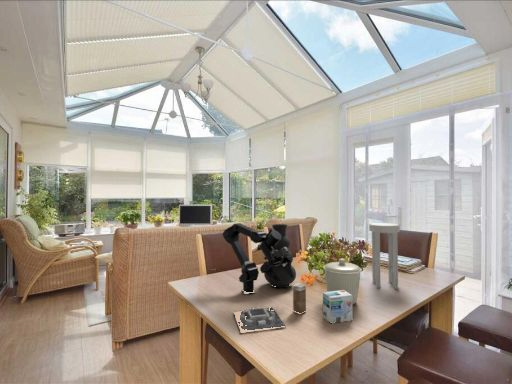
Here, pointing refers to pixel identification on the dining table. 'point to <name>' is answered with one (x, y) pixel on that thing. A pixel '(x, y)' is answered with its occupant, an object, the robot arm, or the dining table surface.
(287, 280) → the vase
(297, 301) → the tan tall block
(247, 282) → the robot arm
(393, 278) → the stool
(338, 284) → the canister
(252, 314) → the grey square base plate
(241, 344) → the dining table surface
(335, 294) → the light bulb box
